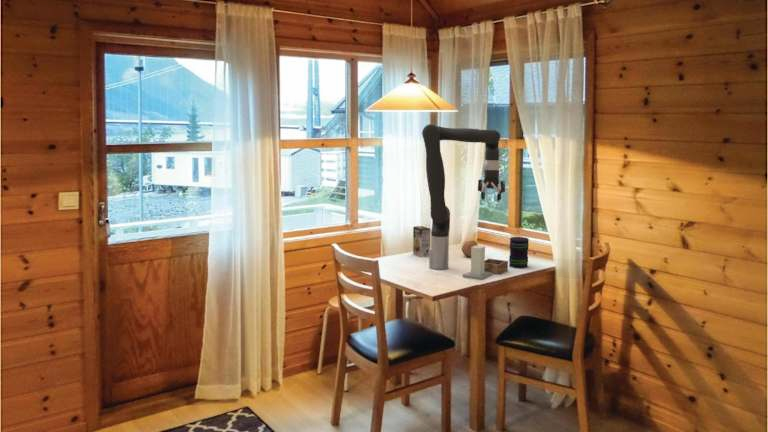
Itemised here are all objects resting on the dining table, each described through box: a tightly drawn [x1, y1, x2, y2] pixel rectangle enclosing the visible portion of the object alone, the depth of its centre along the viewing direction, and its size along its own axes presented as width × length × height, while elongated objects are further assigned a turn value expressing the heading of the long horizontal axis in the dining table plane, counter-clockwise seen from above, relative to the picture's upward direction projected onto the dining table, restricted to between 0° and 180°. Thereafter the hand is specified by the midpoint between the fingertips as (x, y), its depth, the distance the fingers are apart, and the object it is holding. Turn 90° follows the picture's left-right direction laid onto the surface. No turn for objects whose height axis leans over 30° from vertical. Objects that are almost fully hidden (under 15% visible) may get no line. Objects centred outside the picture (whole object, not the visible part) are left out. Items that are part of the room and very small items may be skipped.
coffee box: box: [412, 225, 431, 258], centre depth 378 cm, size 9×6×16 cm
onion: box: [461, 240, 479, 258], centre depth 375 cm, size 10×9×10 cm
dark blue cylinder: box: [508, 236, 530, 269], centre depth 351 cm, size 10×10×15 cm
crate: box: [484, 258, 509, 275], centre depth 340 cm, size 11×11×5 cm
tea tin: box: [470, 245, 486, 275], centre depth 330 cm, size 5×5×14 cm
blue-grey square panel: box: [462, 270, 493, 281], centre depth 331 cm, size 10×12×1 cm
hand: (490, 200), depth 342 cm, fingers open, 8 cm apart
